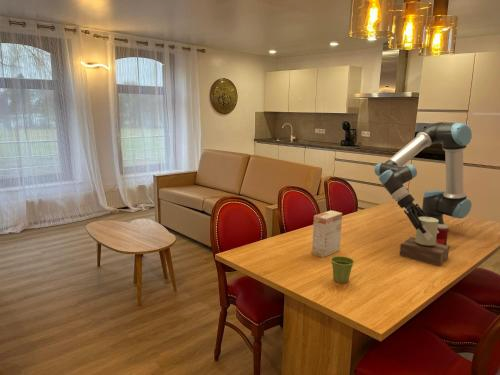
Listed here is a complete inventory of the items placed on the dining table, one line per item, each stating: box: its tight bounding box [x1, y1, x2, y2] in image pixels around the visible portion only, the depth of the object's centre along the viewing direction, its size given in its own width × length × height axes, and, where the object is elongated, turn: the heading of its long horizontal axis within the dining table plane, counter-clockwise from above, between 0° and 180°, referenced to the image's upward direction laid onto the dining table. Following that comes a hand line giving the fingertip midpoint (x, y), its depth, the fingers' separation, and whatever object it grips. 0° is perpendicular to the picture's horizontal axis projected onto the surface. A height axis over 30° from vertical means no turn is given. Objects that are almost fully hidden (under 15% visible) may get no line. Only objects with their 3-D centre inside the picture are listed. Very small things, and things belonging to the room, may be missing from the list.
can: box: [414, 217, 439, 245], centre depth 178 cm, size 9×9×12 cm
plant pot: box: [330, 255, 355, 284], centre depth 152 cm, size 9×9×9 cm
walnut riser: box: [399, 236, 450, 267], centre depth 180 cm, size 14×18×6 cm
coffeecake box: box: [311, 210, 343, 258], centre depth 182 cm, size 15×7×20 cm, turn 134°
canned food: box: [436, 223, 449, 245], centre depth 195 cm, size 8×8×11 cm
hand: (433, 236), depth 176 cm, fingers closed on can, 9 cm apart
